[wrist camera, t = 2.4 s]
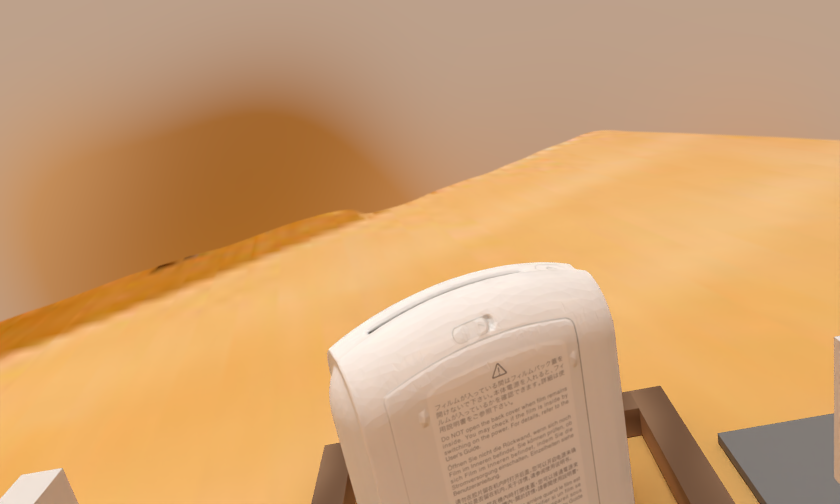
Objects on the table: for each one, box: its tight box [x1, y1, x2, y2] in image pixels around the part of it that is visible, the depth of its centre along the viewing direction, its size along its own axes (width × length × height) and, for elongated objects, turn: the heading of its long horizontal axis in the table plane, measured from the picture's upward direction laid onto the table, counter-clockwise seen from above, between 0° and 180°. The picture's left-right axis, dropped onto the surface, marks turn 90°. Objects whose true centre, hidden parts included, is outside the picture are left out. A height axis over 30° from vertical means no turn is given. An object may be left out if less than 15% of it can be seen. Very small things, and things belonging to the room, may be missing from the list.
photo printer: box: [327, 262, 635, 504], centre depth 24 cm, size 10×4×12 cm, turn 113°
